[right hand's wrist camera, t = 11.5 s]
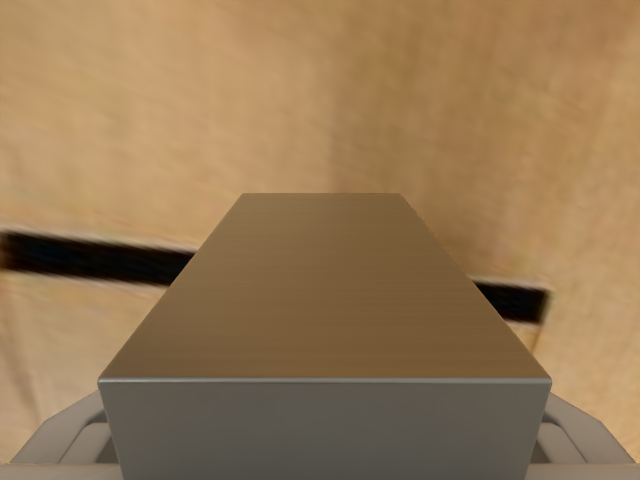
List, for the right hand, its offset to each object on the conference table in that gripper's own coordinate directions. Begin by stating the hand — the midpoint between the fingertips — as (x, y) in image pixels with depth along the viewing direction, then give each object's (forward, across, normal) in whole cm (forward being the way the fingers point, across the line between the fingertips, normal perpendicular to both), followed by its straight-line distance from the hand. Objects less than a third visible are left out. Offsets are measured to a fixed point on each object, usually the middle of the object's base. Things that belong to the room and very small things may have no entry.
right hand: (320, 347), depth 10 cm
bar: (+3, 0, +9) cm, 10 cm away
